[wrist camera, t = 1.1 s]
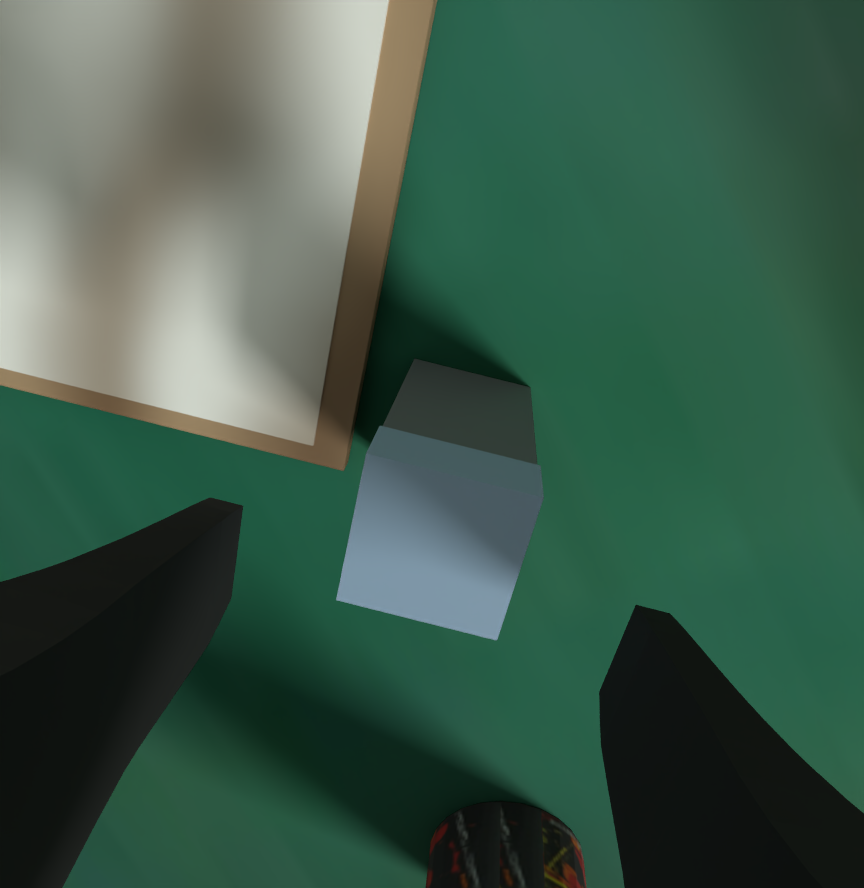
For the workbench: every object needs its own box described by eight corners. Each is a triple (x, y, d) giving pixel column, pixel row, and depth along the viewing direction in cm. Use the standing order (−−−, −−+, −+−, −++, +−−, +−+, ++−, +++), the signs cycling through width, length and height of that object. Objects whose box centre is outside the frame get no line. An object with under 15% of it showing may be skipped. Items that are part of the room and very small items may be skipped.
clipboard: (-31, 368, 21) (-74, 384, 20) (-65, -326, 15) (-132, -382, 13) (347, 462, 21) (334, 486, 20) (474, -196, 15) (470, -238, 13)
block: (389, 464, 21) (336, 600, 15) (413, 356, 20) (366, 453, 13) (500, 492, 21) (496, 640, 15) (532, 386, 20) (543, 497, 13)
